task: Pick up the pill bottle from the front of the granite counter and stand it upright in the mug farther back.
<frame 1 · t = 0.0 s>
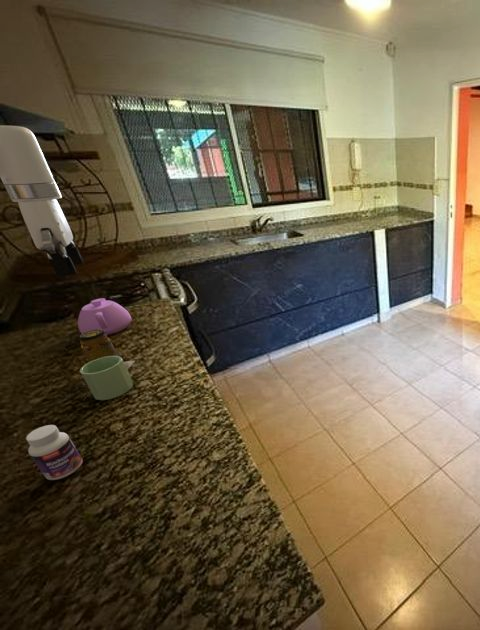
hand: (71, 269, 80), 31 cm above the countertop, tool pointing down, fingers open, 9 cm apart
pill bottle: (65, 469, 67), on the countertop
teapot: (108, 328, 119), on the countertop
mug: (113, 390, 89), on the countertop
condiment: (112, 370, 97), on the countertop
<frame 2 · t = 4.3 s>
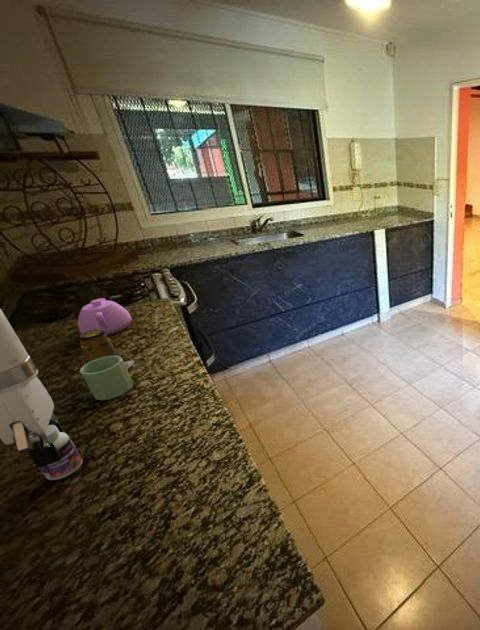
hand: (53, 451, 65), 5 cm above the countertop, tool pointing down, fingers closed on pill bottle, 5 cm apart
pill bottle: (65, 469, 67), on the countertop, touching gripper
everything else where it was.
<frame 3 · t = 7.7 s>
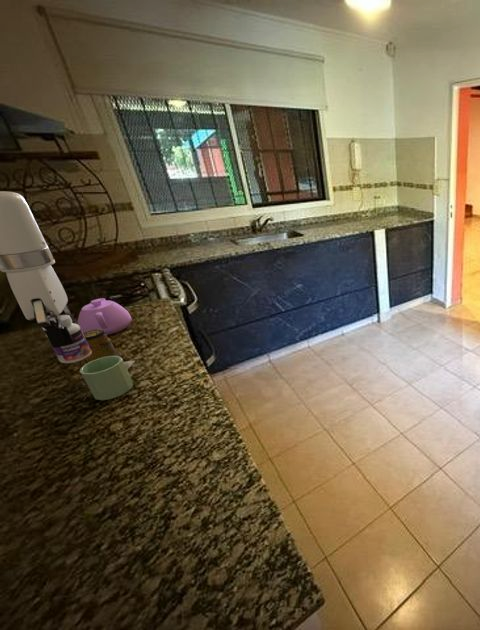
hand: (66, 338, 75), 19 cm above the countertop, tool pointing down, fingers closed on pill bottle, 5 cm apart
pill bottle: (77, 358, 77), point 14 cm above the countertop, touching gripper
everything else where it was.
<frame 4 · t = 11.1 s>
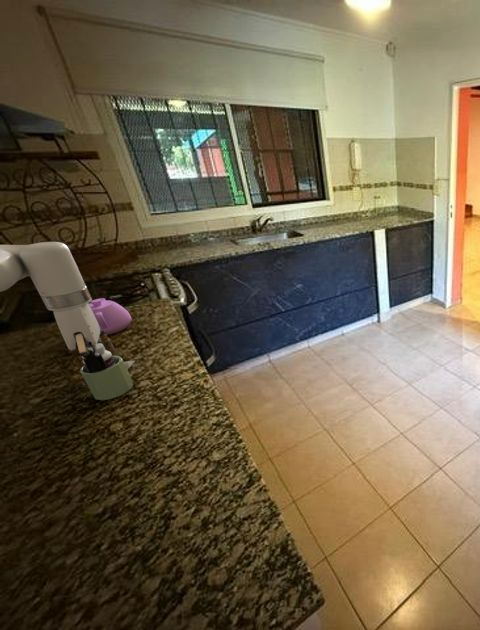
hand: (100, 364, 85), 8 cm above the countertop, tool pointing down, fingers closed on pill bottle, 5 cm apart
pill bottle: (108, 380, 87), point 3 cm above the countertop, touching gripper
everything else where it was.
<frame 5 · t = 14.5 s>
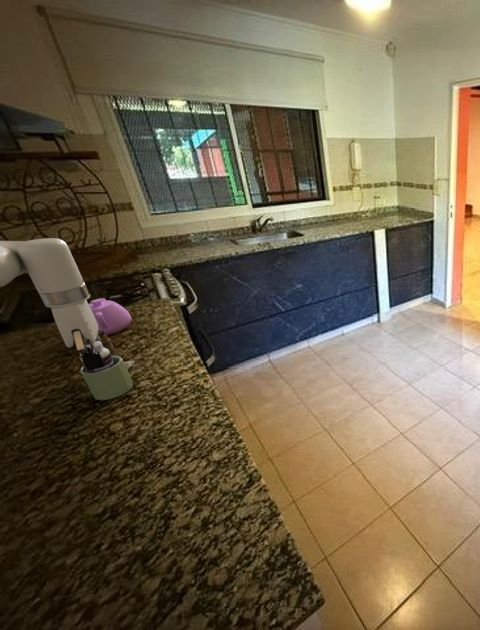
hand: (97, 361, 85), 9 cm above the countertop, tool pointing down, fingers closed on pill bottle, 5 cm apart
pill bottle: (106, 378, 87), point 4 cm above the countertop, touching gripper
everything else where it was.
when the fingers open (9 cm above the countertop, at t = 17.6 s): pill bottle drops 3 cm, resting on mug.
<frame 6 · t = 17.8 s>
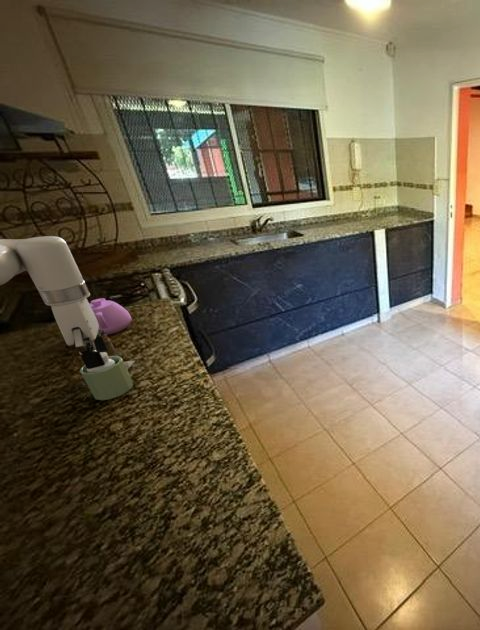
hand: (98, 358, 85), 10 cm above the countertop, tool pointing down, fingers open, 7 cm apart
pill bottle: (112, 388, 88), point 1 cm above the countertop, touching mug
everything else where it was.
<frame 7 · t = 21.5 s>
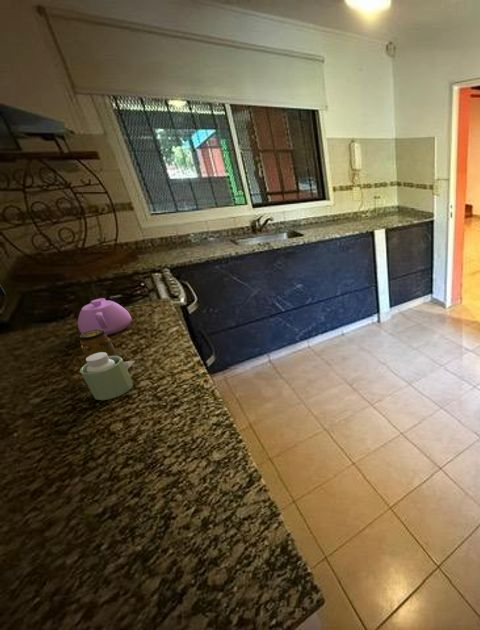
nothing on the countertop moved.
at the end: pill bottle 0.3 cm off-centre in the mug, point 0.6 cm above the mug's base; pill bottle tilted 0°; the gripper is holding nothing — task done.
